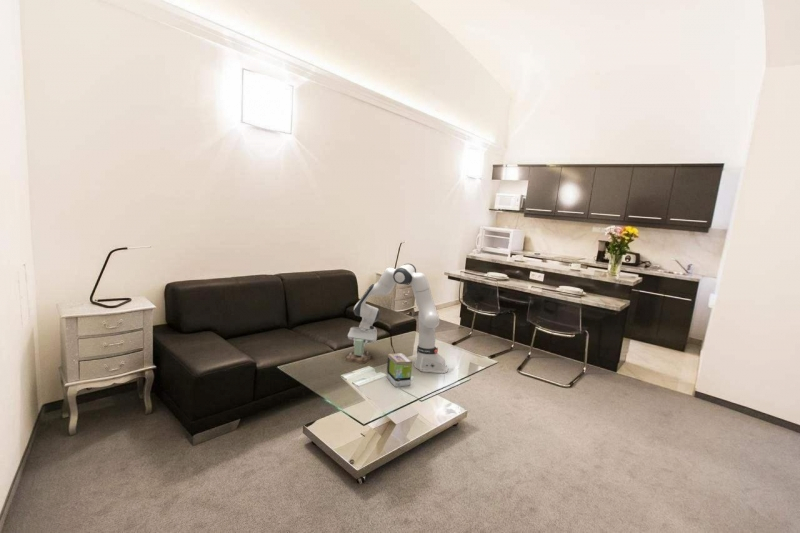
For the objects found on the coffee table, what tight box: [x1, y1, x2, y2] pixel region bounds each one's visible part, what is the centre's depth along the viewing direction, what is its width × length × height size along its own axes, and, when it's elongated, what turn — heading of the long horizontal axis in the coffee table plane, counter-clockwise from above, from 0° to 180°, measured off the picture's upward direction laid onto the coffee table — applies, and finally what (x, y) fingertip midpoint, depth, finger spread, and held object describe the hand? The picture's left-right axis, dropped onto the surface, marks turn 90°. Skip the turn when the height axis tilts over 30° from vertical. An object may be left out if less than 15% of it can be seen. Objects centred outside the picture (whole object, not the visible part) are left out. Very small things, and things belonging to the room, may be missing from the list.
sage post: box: [353, 339, 365, 356], centre depth 246 cm, size 5×5×10 cm
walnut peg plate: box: [344, 350, 372, 364], centre depth 247 cm, size 14×12×5 cm
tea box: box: [386, 352, 413, 388], centre depth 214 cm, size 15×10×15 cm, turn 22°
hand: (358, 345), depth 246 cm, fingers closed on sage post, 5 cm apart
